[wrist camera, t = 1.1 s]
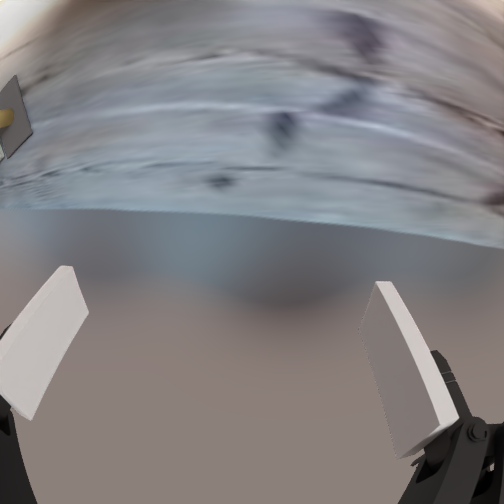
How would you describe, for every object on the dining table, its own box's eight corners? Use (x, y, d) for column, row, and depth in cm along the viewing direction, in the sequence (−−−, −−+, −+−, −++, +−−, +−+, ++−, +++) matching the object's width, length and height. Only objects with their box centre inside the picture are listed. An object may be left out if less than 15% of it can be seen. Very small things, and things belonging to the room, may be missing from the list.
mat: (-8, 103, 25) (-9, 103, 24) (16, 75, 23) (14, 75, 23) (8, 157, 30) (7, 158, 30) (32, 132, 29) (31, 133, 28)
